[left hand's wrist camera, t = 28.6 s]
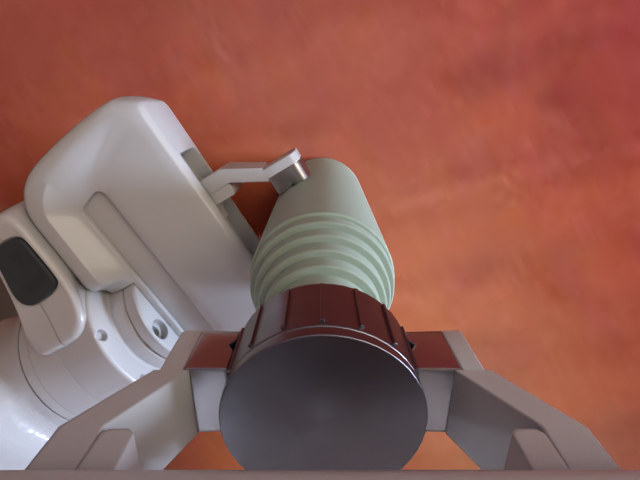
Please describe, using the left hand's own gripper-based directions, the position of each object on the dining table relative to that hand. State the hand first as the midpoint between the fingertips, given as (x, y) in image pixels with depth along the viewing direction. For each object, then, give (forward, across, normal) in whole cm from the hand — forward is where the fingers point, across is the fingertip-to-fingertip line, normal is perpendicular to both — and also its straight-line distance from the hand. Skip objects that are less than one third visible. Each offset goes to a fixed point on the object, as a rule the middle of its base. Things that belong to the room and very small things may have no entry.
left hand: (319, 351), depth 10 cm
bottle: (+16, 0, 0) cm, 16 cm away
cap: (-2, 0, 0) cm, 2 cm away
